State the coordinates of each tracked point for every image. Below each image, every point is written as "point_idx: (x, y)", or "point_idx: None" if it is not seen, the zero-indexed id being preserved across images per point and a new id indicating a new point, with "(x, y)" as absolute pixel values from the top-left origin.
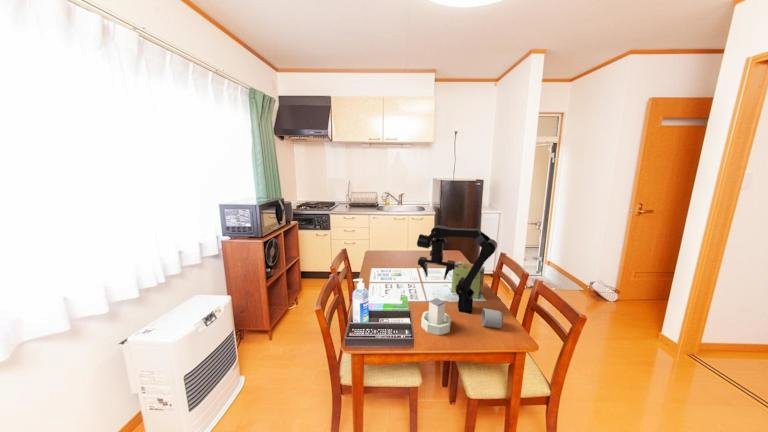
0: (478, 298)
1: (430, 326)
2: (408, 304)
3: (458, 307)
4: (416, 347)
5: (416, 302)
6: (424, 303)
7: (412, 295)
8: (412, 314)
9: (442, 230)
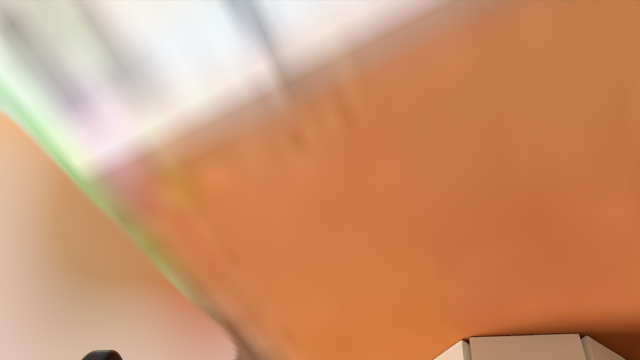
0: None
1: None
2: (139, 239)
3: None
4: None
5: (188, 168)
6: (288, 148)
7: (27, 21)
8: (273, 356)
9: None
